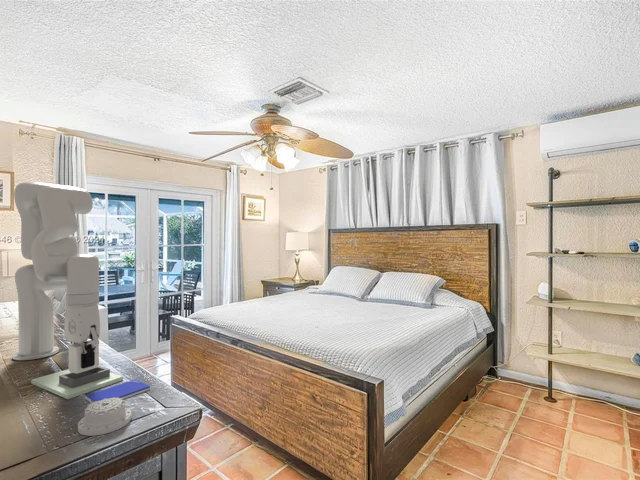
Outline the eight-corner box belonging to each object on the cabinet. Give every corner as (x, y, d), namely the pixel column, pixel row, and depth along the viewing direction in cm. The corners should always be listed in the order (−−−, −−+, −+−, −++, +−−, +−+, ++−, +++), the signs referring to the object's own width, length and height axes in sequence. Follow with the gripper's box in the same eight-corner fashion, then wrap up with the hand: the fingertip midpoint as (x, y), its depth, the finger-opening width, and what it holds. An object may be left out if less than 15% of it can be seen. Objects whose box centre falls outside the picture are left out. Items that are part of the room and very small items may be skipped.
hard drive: (134, 378, 98) (84, 394, 88) (150, 385, 93) (99, 403, 83) (134, 384, 98) (84, 400, 88) (150, 391, 93) (99, 409, 83)
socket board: (31, 383, 97) (31, 372, 97) (85, 367, 109) (85, 357, 109) (67, 399, 87) (67, 387, 87) (122, 379, 99) (122, 369, 99)
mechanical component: (65, 434, 72) (106, 439, 70) (65, 413, 72) (106, 417, 70) (104, 411, 82) (141, 415, 80) (104, 392, 82) (141, 396, 80)
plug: (68, 371, 95) (68, 345, 95) (93, 363, 101) (93, 339, 101) (76, 373, 93) (76, 347, 93) (101, 366, 99) (101, 341, 99)
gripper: (52, 299, 98) (53, 364, 98) (84, 304, 89) (84, 375, 89) (81, 295, 104) (82, 356, 104) (114, 299, 96) (114, 366, 96)
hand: (83, 364), depth 97 cm, fingers closed on plug, 4 cm apart
